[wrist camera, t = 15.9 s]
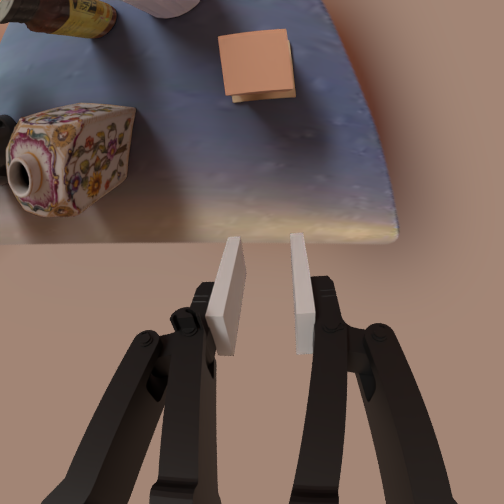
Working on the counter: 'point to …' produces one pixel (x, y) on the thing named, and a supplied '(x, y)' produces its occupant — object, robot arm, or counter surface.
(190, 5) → the soap bottle
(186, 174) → the counter surface
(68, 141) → the decorative jar
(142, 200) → the counter surface
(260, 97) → the post
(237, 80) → the peach block
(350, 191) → the counter surface
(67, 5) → the sauce bottle
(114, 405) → the robot arm
